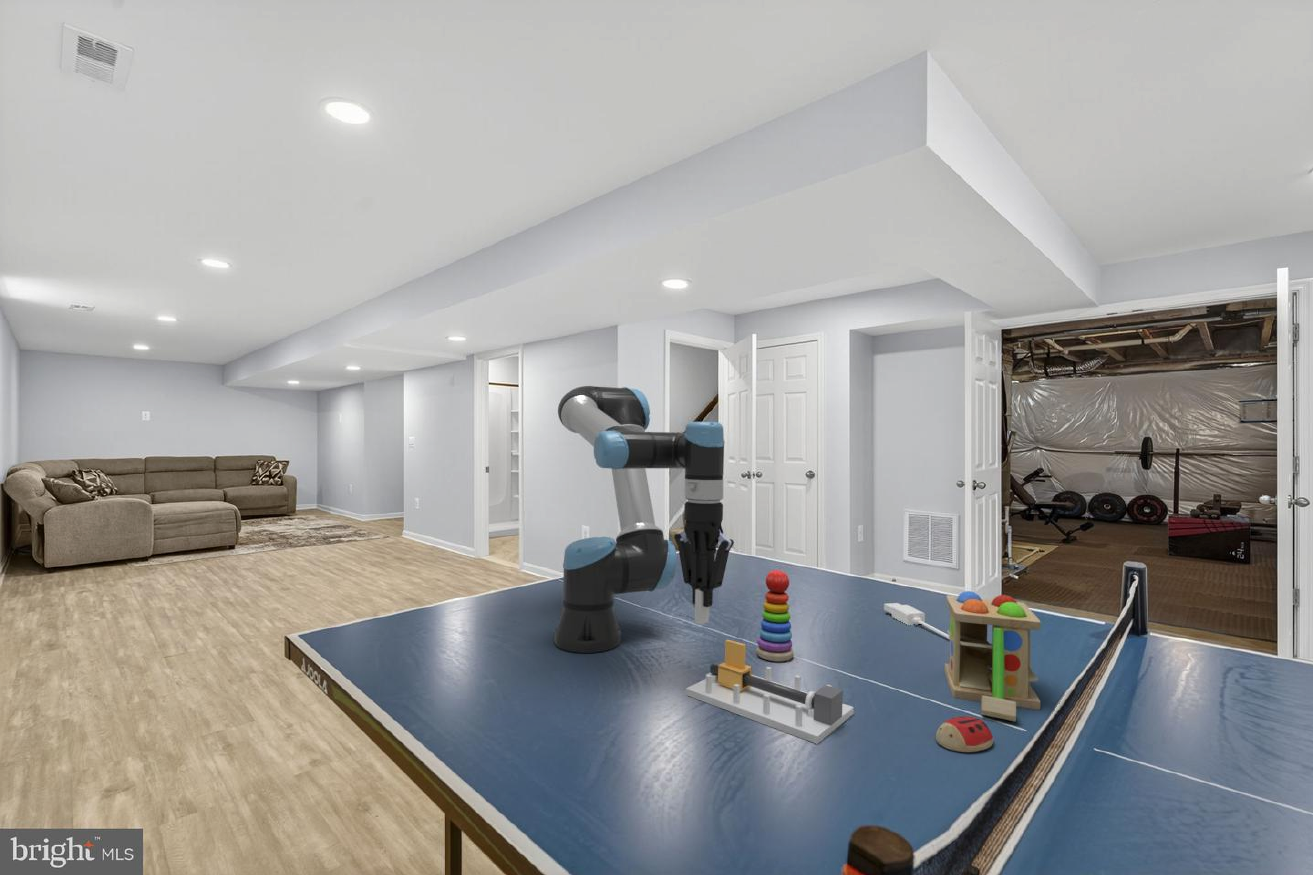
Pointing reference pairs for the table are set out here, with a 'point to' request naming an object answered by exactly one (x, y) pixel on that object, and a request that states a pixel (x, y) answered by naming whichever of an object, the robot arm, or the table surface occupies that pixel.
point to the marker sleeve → (733, 665)
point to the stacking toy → (776, 620)
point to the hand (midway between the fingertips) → (702, 622)
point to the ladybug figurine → (964, 735)
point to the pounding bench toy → (991, 653)
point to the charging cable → (909, 616)
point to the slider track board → (777, 704)
